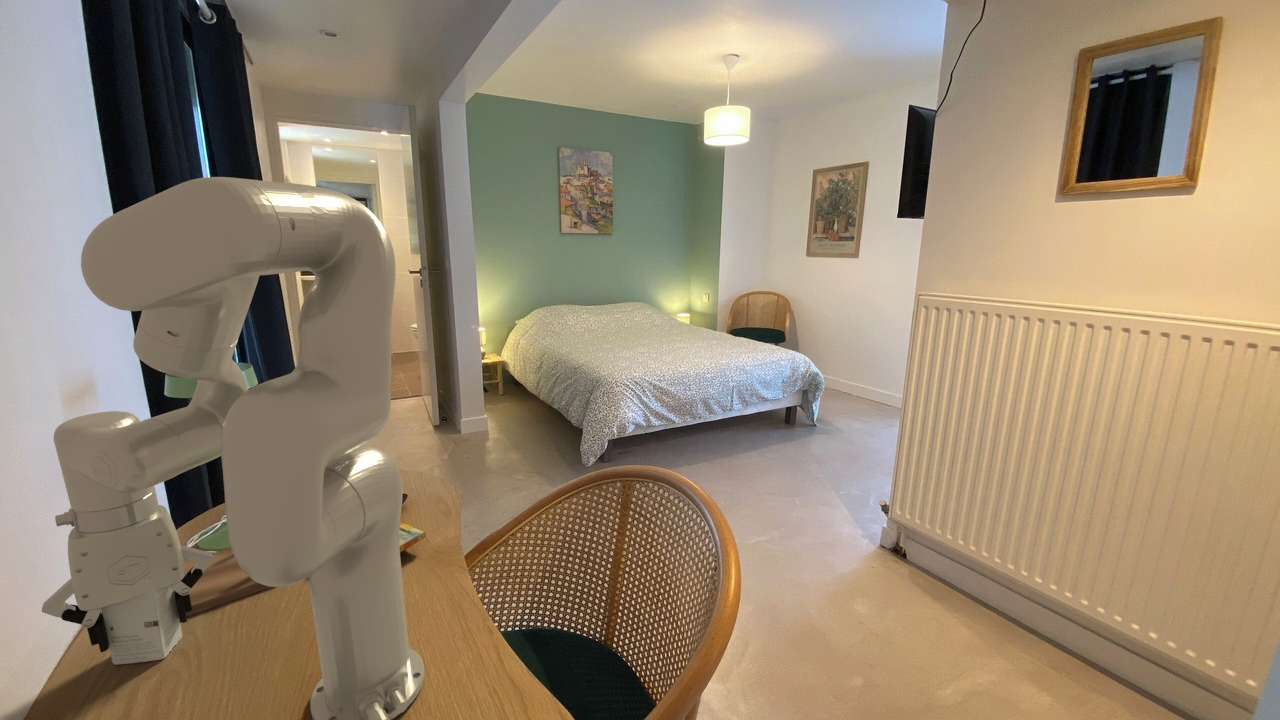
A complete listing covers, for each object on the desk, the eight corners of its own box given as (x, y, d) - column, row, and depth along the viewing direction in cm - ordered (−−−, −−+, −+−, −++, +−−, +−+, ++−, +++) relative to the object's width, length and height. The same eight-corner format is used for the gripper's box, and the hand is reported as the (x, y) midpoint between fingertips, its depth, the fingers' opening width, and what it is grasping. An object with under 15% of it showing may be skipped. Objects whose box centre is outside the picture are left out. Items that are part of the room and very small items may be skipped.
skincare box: (111, 667, 69) (90, 585, 66) (134, 641, 73) (115, 563, 70) (167, 659, 70) (148, 579, 67) (186, 634, 75) (170, 558, 72)
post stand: (283, 582, 86) (278, 552, 85) (149, 629, 75) (142, 596, 74) (268, 544, 96) (263, 516, 95) (148, 581, 85) (141, 551, 84)
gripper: (7, 550, 58) (46, 684, 63) (208, 499, 70) (230, 615, 74) (17, 522, 64) (53, 647, 68) (203, 479, 75) (224, 589, 79)
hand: (145, 630), depth 71 cm, fingers closed on skincare box, 7 cm apart
